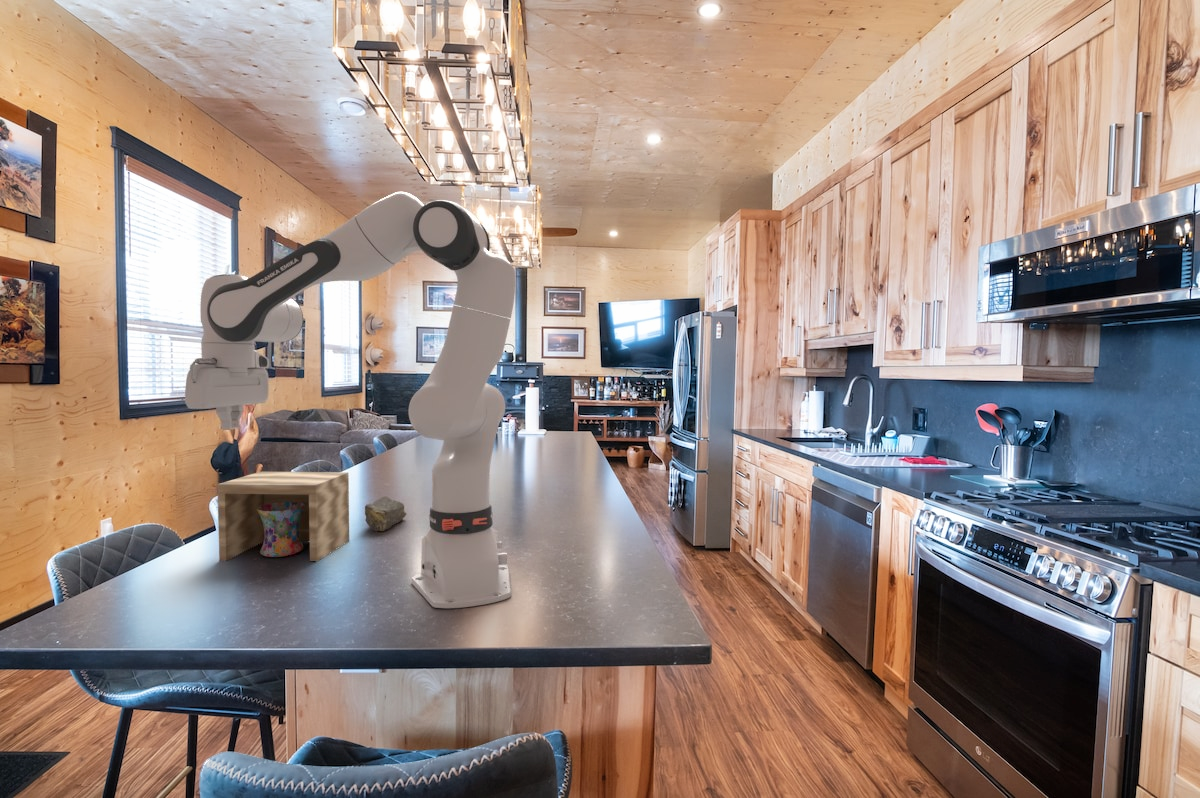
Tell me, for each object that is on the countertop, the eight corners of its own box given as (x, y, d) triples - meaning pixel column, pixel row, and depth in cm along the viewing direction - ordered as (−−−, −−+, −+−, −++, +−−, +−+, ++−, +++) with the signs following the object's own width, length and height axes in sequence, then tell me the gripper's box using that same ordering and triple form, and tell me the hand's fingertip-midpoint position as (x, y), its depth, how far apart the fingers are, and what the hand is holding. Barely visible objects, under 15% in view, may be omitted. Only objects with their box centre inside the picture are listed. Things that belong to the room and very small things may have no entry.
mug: (294, 559, 125) (293, 511, 125) (249, 560, 125) (248, 511, 124) (317, 543, 137) (316, 498, 137) (276, 544, 137) (275, 499, 136)
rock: (404, 514, 147) (363, 506, 144) (397, 540, 147) (356, 532, 145) (411, 498, 163) (374, 490, 161) (404, 521, 164) (368, 513, 161)
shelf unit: (316, 562, 124) (315, 485, 123) (219, 560, 124) (217, 484, 124) (349, 540, 139) (348, 472, 139) (262, 539, 140) (261, 471, 139)
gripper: (208, 358, 104) (210, 435, 104) (274, 359, 124) (275, 424, 125) (173, 357, 104) (175, 434, 105) (244, 359, 124) (246, 424, 125)
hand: (230, 429), depth 115 cm, fingers closed
